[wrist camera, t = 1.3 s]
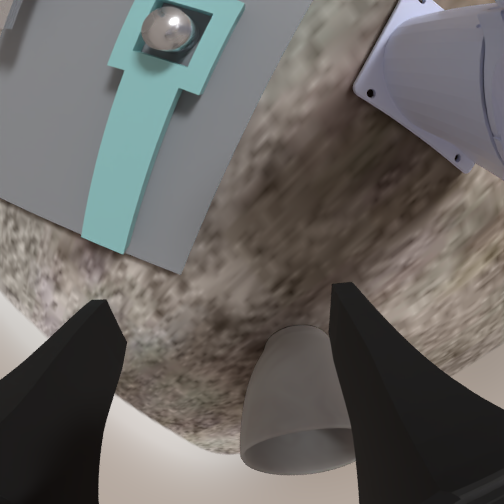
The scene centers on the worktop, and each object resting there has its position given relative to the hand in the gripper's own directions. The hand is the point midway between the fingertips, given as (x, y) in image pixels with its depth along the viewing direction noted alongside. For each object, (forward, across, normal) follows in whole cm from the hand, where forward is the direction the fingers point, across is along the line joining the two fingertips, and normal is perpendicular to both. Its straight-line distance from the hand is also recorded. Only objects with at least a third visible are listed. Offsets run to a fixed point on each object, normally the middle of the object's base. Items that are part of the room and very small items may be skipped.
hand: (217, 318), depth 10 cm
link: (+8, +4, -5) cm, 11 cm away
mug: (+10, -4, +15) cm, 18 cm away
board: (+10, +6, -9) cm, 14 cm away
